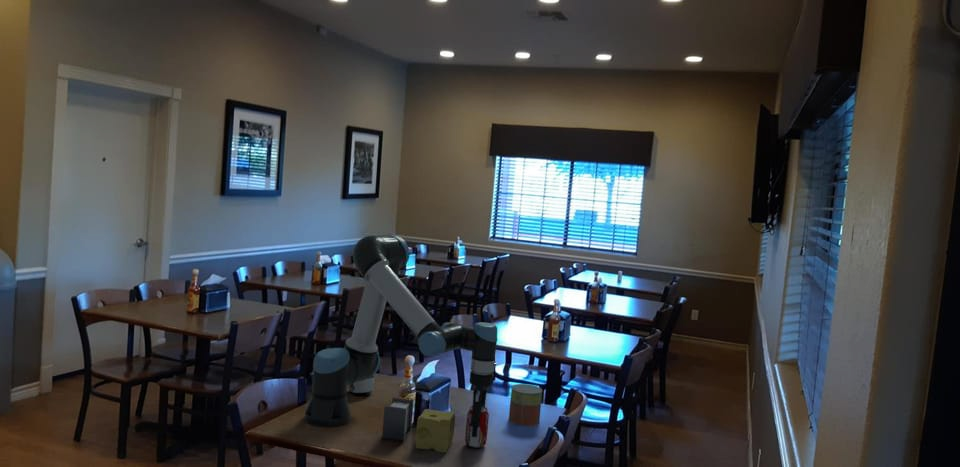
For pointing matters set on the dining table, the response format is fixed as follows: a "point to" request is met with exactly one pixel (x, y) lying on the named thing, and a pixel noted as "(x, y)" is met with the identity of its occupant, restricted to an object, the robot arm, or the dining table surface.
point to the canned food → (525, 405)
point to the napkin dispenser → (397, 420)
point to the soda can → (483, 427)
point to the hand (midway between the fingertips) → (475, 441)
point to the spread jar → (362, 387)
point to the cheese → (435, 430)
